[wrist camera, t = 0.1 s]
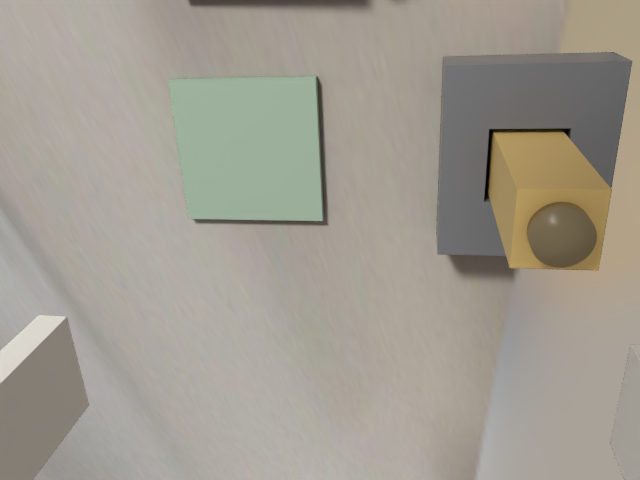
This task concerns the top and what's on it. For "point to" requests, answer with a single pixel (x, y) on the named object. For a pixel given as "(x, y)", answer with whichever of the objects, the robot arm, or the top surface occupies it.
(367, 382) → the top surface
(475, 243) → the grey block with hole
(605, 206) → the plug
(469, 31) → the top surface
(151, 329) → the top surface
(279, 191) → the mat
